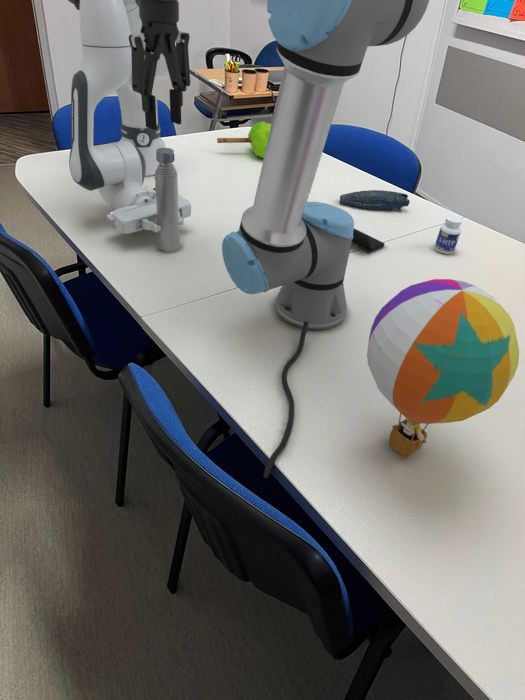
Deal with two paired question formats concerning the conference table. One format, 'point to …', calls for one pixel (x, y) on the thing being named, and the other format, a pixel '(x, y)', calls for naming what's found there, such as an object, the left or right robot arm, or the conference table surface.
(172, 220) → the bottle
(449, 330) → the toy
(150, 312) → the conference table surface
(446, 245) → the pill bottle
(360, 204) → the fish model
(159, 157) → the cap
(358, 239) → the handheld gaming console
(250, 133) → the decorative tree
